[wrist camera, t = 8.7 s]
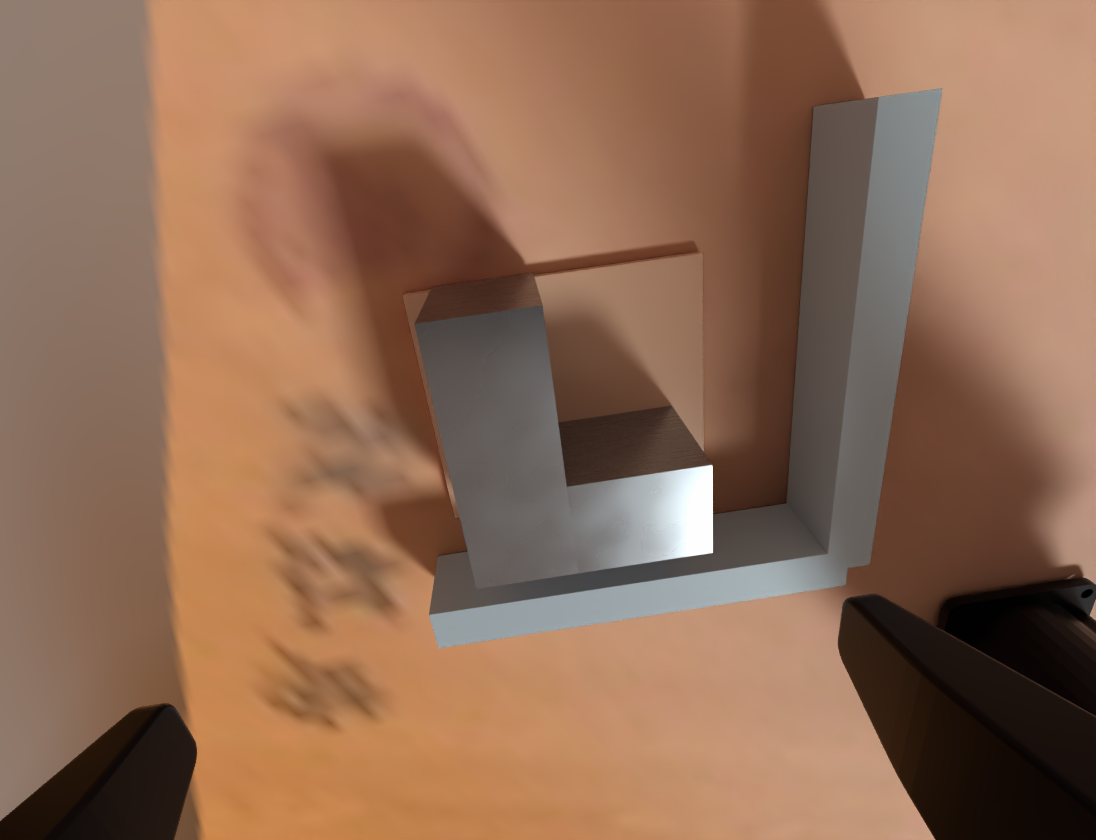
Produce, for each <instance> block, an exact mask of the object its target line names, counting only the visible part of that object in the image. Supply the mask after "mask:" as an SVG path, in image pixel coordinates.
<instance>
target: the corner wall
mask: <svg viewBox="0 0 1096 840" xmlns="http://www.w3.org/2000/svg"><path fill="white" fill-rule="evenodd" d="M941 95H942V88H941V89H934V90H926V91H919V92H912V93H905V94H897V95H890V96H883V97H876V98H868V99H861V100H854V101H847V102H840V103H833V104H826V105H819V106H814V109H813V123H812V138H811V153H810V167H809V182H808V196H807V211H806V226H805V240H804V255H803V269H802V284H801V299H800V313H799V328H798V342H797V357H796V372H795V386H794V401H793V415H792V430H791V445H790V459H789V474H788V489H787V503H785V504H779V505H772V506H765V507H759V508H752V509H746V510H739V511H732V512H726V513H719V514H713V553H707V554H701V555H694V556H688V557H681V558H675V559H668V560H662V561H655V562H649V563H642V564H636V565H629V566H623V567H616V568H610V569H603V570H597V571H590V572H584V573H577V574H571V575H564V576H558V577H552V578H545V579H539V580H532V581H526V582H519V583H513V584H506V585H500V586H493V587H487V588H480V589H476V585H475V581H474V577H473V572H472V568H471V564H470V560H469V555H468V552H461V553H455V554H448V555H441V556H438V558H437V565H436V571H435V578H434V585H433V592H432V599H431V605H430V612H429V616H430V620H431V623H432V627H433V630H434V634H435V637H436V641H437V644H438V648H443V647H450V646H456V645H463V644H469V643H476V642H482V641H489V640H495V639H502V638H508V637H514V636H521V635H527V634H534V633H540V632H547V631H553V630H560V629H566V628H573V627H579V626H586V625H592V624H599V623H605V622H612V621H618V620H625V619H631V618H638V617H644V616H651V615H657V614H663V613H670V612H676V611H683V610H689V609H696V608H702V607H709V606H715V605H722V604H728V603H735V602H741V601H748V600H754V599H761V598H767V597H774V596H780V595H787V594H793V593H800V592H806V591H812V590H819V589H825V588H832V587H838V586H845V585H846V579H847V571H848V568H853V567H859V566H866V565H870V560H871V553H872V547H873V540H874V534H875V527H876V521H877V514H878V507H879V501H880V494H881V488H882V481H883V475H884V468H885V462H886V455H887V448H888V442H889V435H890V429H891V422H892V416H893V409H894V403H895V396H896V390H897V383H898V376H899V370H900V363H901V357H902V350H903V344H904V337H905V331H906V324H907V317H908V311H909V304H910V298H911V291H912V285H913V278H914V272H915V265H916V259H917V252H918V245H919V239H920V232H921V226H922V219H923V213H924V206H925V200H926V193H927V186H928V180H929V173H930V167H931V160H932V154H933V147H934V141H935V134H936V128H937V121H938V114H939V108H940V101H941Z"/></svg>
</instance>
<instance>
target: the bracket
mask: <svg viewBox="0 0 1096 840" xmlns="http://www.w3.org/2000/svg"><path fill="white" fill-rule="evenodd" d="M414 325H415V329H416V334H417V338H418V342H419V346H420V351H421V355H422V359H423V363H424V368H425V372H426V376H427V380H428V385H429V389H430V393H431V398H432V402H433V406H434V410H435V415H436V419H437V423H438V427H439V432H440V436H441V440H442V444H443V449H444V453H445V457H446V462H447V466H448V470H449V474H450V479H451V483H452V487H453V491H454V496H455V500H456V504H457V508H458V513H459V517H460V521H461V526H462V530H463V534H464V538H465V543H466V547H467V551H468V555H469V560H470V564H471V568H472V572H473V577H474V581H475V585H476V589H480V588H487V587H493V586H500V585H506V584H513V583H519V582H526V581H532V580H539V579H545V578H552V577H558V576H564V575H571V574H577V573H584V572H590V571H597V570H603V569H610V568H616V567H623V566H629V565H636V564H642V563H649V562H655V561H662V560H668V559H675V558H681V557H688V556H694V555H701V554H707V553H713V465H712V463H711V462H710V460H709V459H708V457H707V456H706V454H705V453H704V451H703V450H702V449H701V447H700V446H699V444H698V443H697V441H696V440H695V438H694V437H693V435H692V434H691V433H690V431H689V430H688V428H687V427H686V425H685V424H684V422H683V421H682V419H681V418H680V416H679V415H678V414H677V412H676V411H675V409H674V408H673V406H665V407H658V408H652V409H645V410H638V411H632V412H625V413H618V414H612V415H605V416H598V417H592V418H585V419H578V420H571V421H565V422H558V417H557V410H556V402H555V394H554V387H553V379H552V372H551V364H550V357H549V349H548V341H547V334H546V326H545V319H544V311H543V304H542V301H541V298H540V294H539V291H538V287H537V284H536V281H535V277H534V274H533V272H531V273H524V274H517V275H510V276H503V277H496V278H489V279H482V280H475V281H468V282H461V283H455V284H448V285H441V286H434V287H432V288H431V290H430V292H429V294H428V296H427V298H426V300H425V302H424V305H423V307H422V309H421V311H420V313H419V315H418V317H417V319H416V321H415V323H414Z"/></svg>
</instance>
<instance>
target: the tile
mask: <svg viewBox="0 0 1096 840" xmlns="http://www.w3.org/2000/svg"><path fill="white" fill-rule="evenodd" d="M534 277H535V281H536V284H537V287H538V291H539V294H540V298H541V301H542V304H543V311H544V319H545V326H546V334H547V341H548V349H549V357H550V364H551V372H552V379H553V387H554V394H555V402H556V410H557V417H558V422H565V421H571V420H578V419H585V418H592V417H598V416H605V415H612V414H618V413H625V412H632V411H638V410H645V409H652V408H658V407H665V406H673V408H674V409H675V411H676V412H677V414H678V415H679V416H680V418H681V419H682V421H683V422H684V424H685V425H686V427H687V428H688V430H689V431H690V433H691V434H692V435H693V437H694V438H695V440H696V441H697V443H698V444H699V446H700V447H701V449H702V450H703V451H704V391H703V253H701V252H693V253H686V254H679V255H672V256H664V257H657V258H650V259H643V260H636V261H629V262H622V263H615V264H608V265H601V266H594V267H587V268H580V269H573V270H566V271H559V272H552V273H545V274H538V275H534ZM429 292H430V290H425V291H418V292H411V293H404V294H403V295H402V297H403V301H404V306H405V310H406V314H407V318H408V322H409V327H410V331H411V335H412V339H413V344H414V348H415V352H416V356H417V361H418V365H419V369H420V373H421V377H422V382H423V386H424V390H425V394H426V399H427V403H428V407H429V411H430V416H431V420H432V424H433V428H434V433H435V437H436V441H437V445H438V449H439V454H440V458H441V462H442V466H443V471H444V475H445V479H446V483H447V488H448V492H449V496H450V500H451V504H452V509H453V513H454V517H455V518H460V517H459V513H458V508H457V504H456V500H455V496H454V491H453V487H452V483H451V479H450V474H449V470H448V466H447V462H446V457H445V453H444V449H443V444H442V440H441V436H440V432H439V427H438V423H437V419H436V415H435V410H434V406H433V402H432V398H431V393H430V389H429V385H428V380H427V376H426V372H425V368H424V363H423V359H422V355H421V351H420V346H419V342H418V338H417V334H416V329H415V325H414V323H415V321H416V319H417V317H418V315H419V313H420V311H421V309H422V307H423V305H424V302H425V300H426V298H427V296H428V294H429Z"/></svg>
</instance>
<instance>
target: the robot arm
mask: <svg viewBox="0 0 1096 840" xmlns="http://www.w3.org/2000/svg"><path fill="white" fill-rule="evenodd" d="M1095 600H1096V584H1094V583H1093V582H1092V581H1090V580H1089V579H1087V578H1079V579H1072V580H1066V581H1059V582H1053V583H1046V584H1040V585H1033V586H1027V587H1021V588H1014V589H1008V590H1001V591H995V592H988V593H982V594H976V595H969V596H963V597H956V598H952V599H950V600H948V601H946V602H945V603H944V604H943V606H942V608H941V612H940V616H939V621H938V625H937V627H936V626H934V625H932V624H931V623H929V622H927V621H925V620H923V619H922V618H920V617H918V616H916V615H915V614H913V613H911V612H909V611H907V610H906V609H904V608H902V607H900V606H898V605H897V604H895V603H893V602H891V601H890V600H888V599H886V598H884V597H882V596H880V595H877V594H869V595H862V596H856V597H850V598H847V599H846V600H845V601H844V603H843V607H842V613H841V621H840V629H839V636H838V649H839V653H840V656H841V659H842V661H843V664H844V666H845V668H846V670H847V672H848V674H849V676H850V678H851V680H852V682H853V685H854V687H855V689H856V691H857V693H858V695H859V697H860V699H861V701H862V703H863V705H864V708H865V710H866V712H867V714H868V716H869V718H870V720H871V722H872V724H873V726H874V728H875V731H876V733H877V735H878V737H879V739H880V741H881V743H882V745H883V747H884V749H885V751H886V754H887V756H888V758H889V760H890V762H891V764H892V766H893V767H894V769H895V771H896V773H897V775H898V777H899V779H900V781H901V782H902V784H903V786H904V788H905V789H906V791H907V793H908V795H909V796H910V798H911V800H912V801H913V803H914V805H915V806H916V808H917V810H918V812H919V813H920V815H921V817H922V818H923V820H924V822H925V823H926V825H927V827H928V828H929V830H930V832H931V833H932V835H933V837H934V838H935V840H1096V621H1095V620H1094V619H1093V618H1092V617H1090V616H1089V615H1090V613H1091V610H1092V608H1093V605H1094V602H1095ZM196 758H197V747H196V742H195V740H194V738H193V736H192V735H191V733H190V731H189V730H188V728H187V726H186V725H185V723H184V721H183V720H182V718H181V716H180V715H179V713H178V711H177V710H176V708H175V707H174V706H172V705H171V704H169V703H162V704H155V705H149V706H143V707H139V708H136V709H134V710H132V711H131V712H129V713H128V714H127V715H126V716H125V717H123V718H122V719H121V720H120V721H119V722H117V723H116V724H115V725H114V726H113V727H111V728H110V729H109V730H108V731H107V732H105V733H104V734H103V735H102V736H101V737H99V738H98V739H97V740H96V741H95V742H94V743H92V744H91V745H90V746H89V747H88V748H86V749H85V750H84V751H83V752H82V753H80V754H79V755H78V756H77V757H76V758H75V759H73V760H72V761H71V762H70V763H69V764H67V765H66V766H65V767H64V768H63V769H62V770H60V771H59V772H58V773H57V774H56V775H54V776H53V777H52V778H51V779H50V780H49V781H47V782H46V783H45V784H44V785H42V786H41V787H40V788H39V789H38V790H37V791H35V792H34V793H33V794H32V795H31V796H29V797H28V798H27V799H26V800H25V801H23V802H22V803H21V804H20V805H19V806H18V807H16V808H15V809H14V810H13V811H12V812H10V813H9V814H8V815H7V816H6V817H4V818H3V819H2V820H1V821H0V840H174V839H175V835H176V831H177V828H178V824H179V821H180V817H181V814H182V810H183V806H184V803H185V799H186V796H187V792H188V789H189V785H190V782H191V778H192V774H193V771H194V767H195V764H196Z"/></svg>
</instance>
